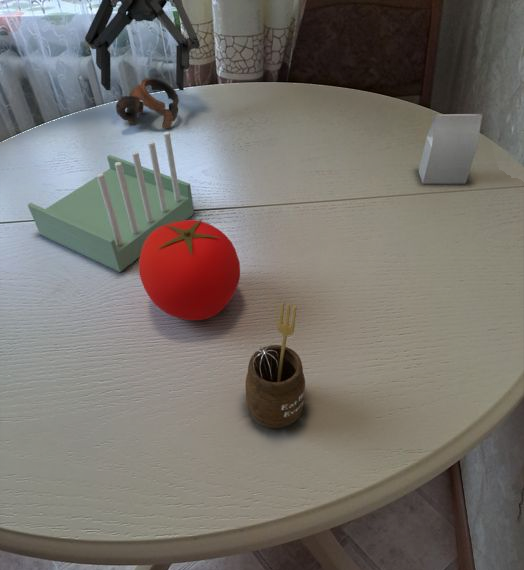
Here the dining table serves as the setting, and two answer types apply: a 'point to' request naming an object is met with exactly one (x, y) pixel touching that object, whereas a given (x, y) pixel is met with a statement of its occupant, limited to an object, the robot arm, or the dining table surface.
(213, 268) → the tomato
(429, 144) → the grey block
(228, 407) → the dining table surface
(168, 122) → the brown curved ring piece
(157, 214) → the dish rack
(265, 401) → the utensil holder
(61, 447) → the dining table surface
